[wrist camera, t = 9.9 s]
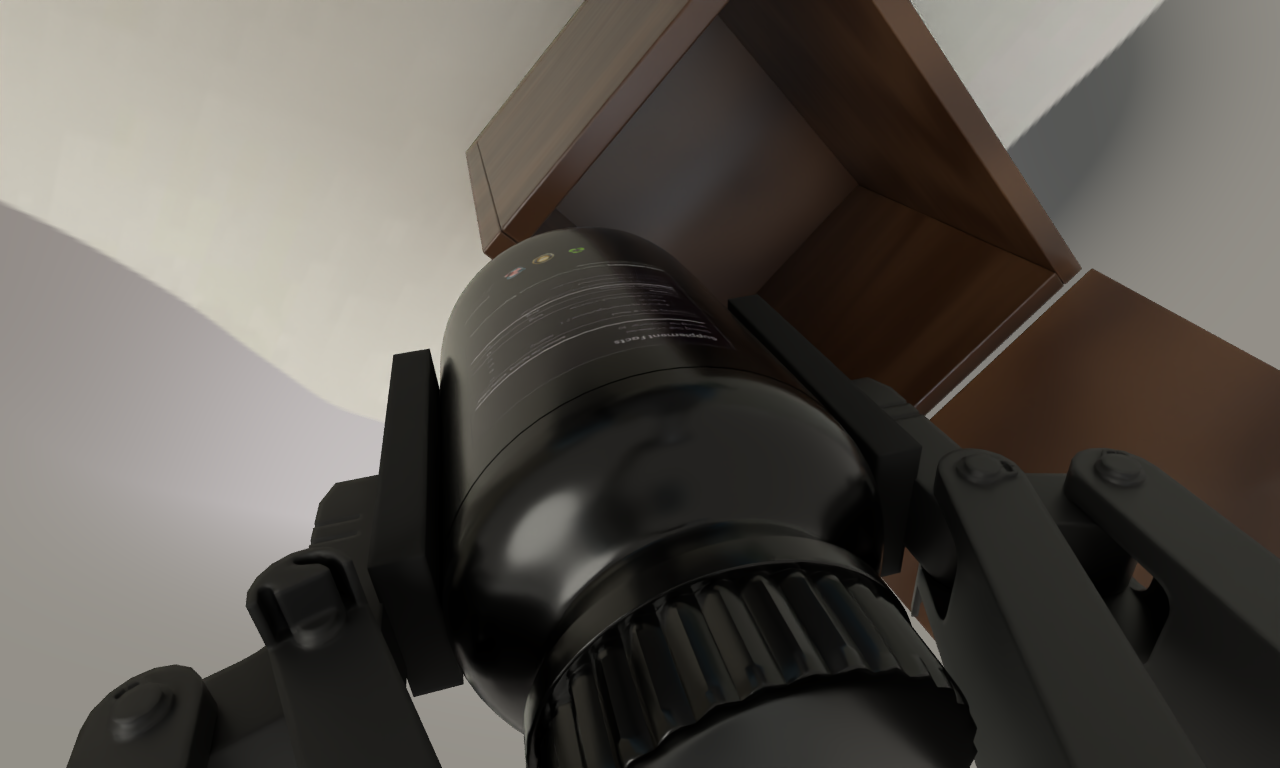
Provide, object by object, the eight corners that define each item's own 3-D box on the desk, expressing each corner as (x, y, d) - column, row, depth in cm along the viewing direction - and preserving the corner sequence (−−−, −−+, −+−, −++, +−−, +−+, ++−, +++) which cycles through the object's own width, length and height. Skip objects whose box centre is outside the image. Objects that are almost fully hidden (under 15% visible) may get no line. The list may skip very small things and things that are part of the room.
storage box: (464, 152, 31) (482, 252, 19) (653, -88, 28) (813, -151, 16) (706, 351, 39) (826, 509, 27) (869, 179, 36) (1083, 268, 24)
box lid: (1334, 1113, 14) (1317, 1043, 18) (1976, 749, 12) (1810, 749, 15) (827, 514, 26) (876, 541, 30) (1091, 267, 24) (1111, 329, 27)
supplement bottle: (733, 404, 19) (1058, 849, 9) (506, 498, 19) (584, 1072, 9) (667, 169, 16) (1084, 478, 6) (385, 279, 15) (281, 828, 5)
